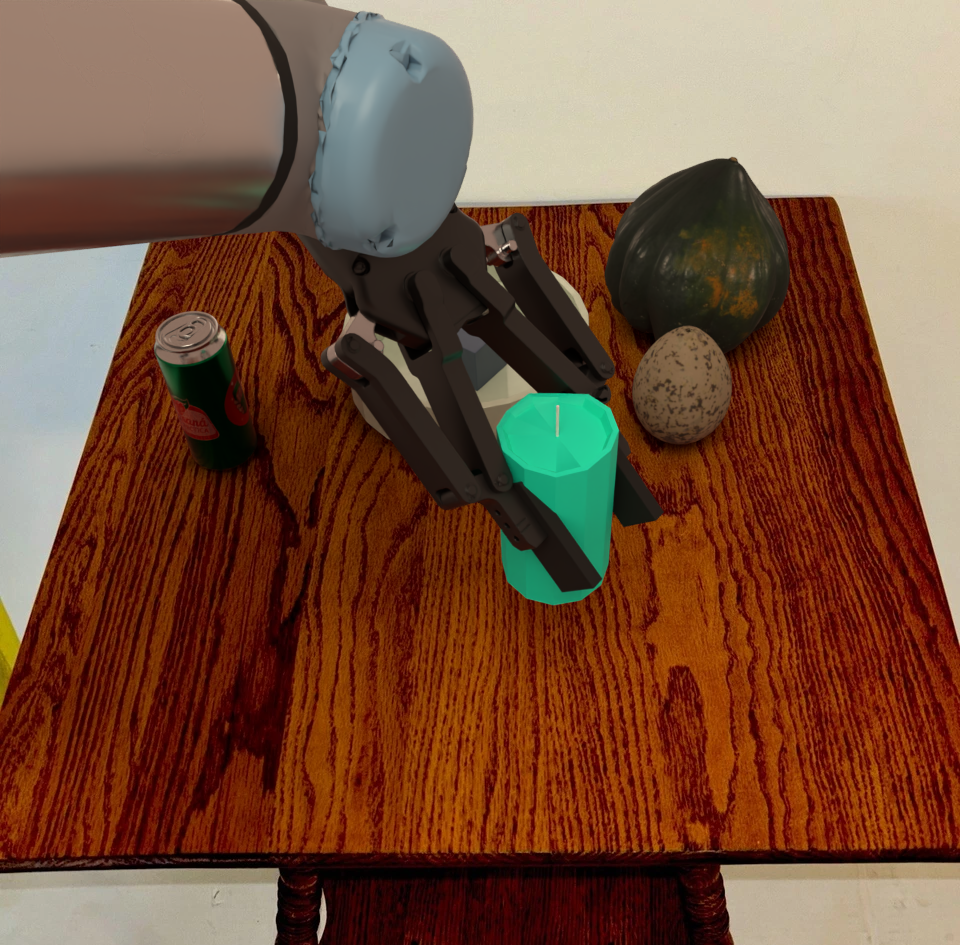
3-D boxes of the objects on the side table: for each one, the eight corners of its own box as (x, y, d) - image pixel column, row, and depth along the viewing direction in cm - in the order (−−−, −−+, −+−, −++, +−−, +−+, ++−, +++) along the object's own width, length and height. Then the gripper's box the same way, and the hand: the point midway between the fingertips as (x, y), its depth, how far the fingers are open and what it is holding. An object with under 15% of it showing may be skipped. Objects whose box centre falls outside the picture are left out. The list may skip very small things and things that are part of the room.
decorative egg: (636, 394, 82) (645, 293, 75) (728, 407, 81) (746, 304, 74) (622, 458, 78) (629, 356, 70) (718, 472, 76) (737, 370, 69)
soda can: (180, 455, 80) (134, 335, 71) (229, 419, 83) (192, 298, 74) (222, 485, 78) (180, 364, 69) (272, 446, 80) (238, 325, 71)
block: (477, 391, 82) (474, 353, 80) (438, 372, 84) (434, 334, 81) (507, 364, 85) (506, 326, 82) (469, 346, 86) (466, 308, 83)
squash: (584, 334, 79) (732, 193, 71) (565, 229, 90) (692, 97, 82) (709, 417, 86) (858, 297, 78) (678, 310, 96) (806, 195, 88)
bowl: (458, 501, 75) (453, 449, 71) (305, 377, 86) (293, 325, 82) (636, 376, 84) (640, 323, 80) (477, 276, 94) (474, 224, 90)
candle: (627, 549, 59) (643, 392, 50) (573, 622, 55) (579, 468, 47) (537, 506, 61) (537, 350, 52) (480, 574, 58) (470, 420, 49)
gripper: (433, 128, 57) (660, 465, 62) (178, 286, 48) (466, 668, 52) (505, 60, 51) (753, 441, 55) (228, 226, 42) (550, 666, 46)
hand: (613, 551), depth 54 cm, fingers closed on candle, 5 cm apart
